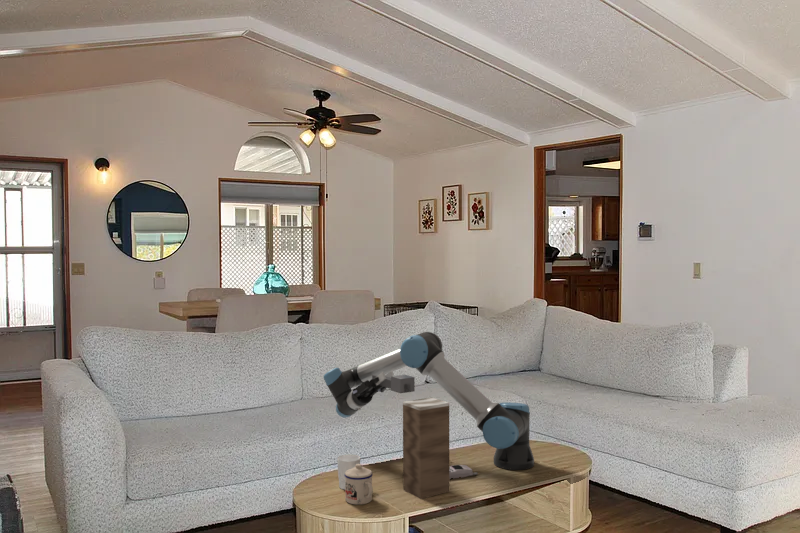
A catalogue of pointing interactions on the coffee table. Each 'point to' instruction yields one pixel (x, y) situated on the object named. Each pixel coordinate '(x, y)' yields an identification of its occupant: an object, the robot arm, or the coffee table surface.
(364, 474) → the teacup with lid
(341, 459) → the white cup
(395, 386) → the gray block
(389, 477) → the coffee table surface
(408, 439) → the brown wooden tall block
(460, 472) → the mobile phone
